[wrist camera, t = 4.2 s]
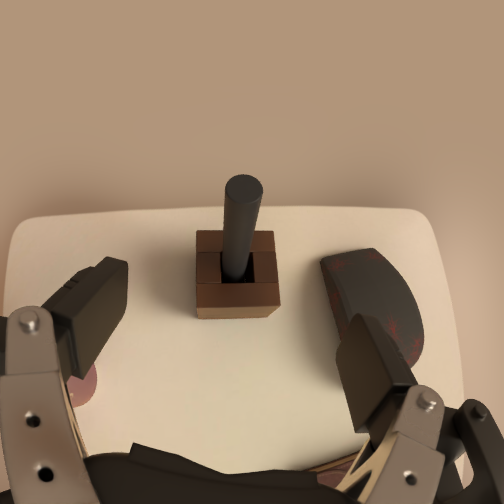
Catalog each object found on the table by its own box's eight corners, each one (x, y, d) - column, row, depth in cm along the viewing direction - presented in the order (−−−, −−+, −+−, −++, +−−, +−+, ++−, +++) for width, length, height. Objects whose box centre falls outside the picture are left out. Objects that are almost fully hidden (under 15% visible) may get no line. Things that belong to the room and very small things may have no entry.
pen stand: (198, 319, 25) (196, 308, 20) (197, 254, 27) (196, 230, 23) (267, 317, 26) (280, 305, 21) (262, 253, 28) (273, 230, 24)
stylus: (217, 283, 26) (217, 185, 14) (233, 272, 27) (246, 168, 15) (230, 299, 26) (241, 210, 13) (245, 287, 27) (271, 191, 14)
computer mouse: (348, 398, 24) (369, 401, 20) (310, 261, 29) (325, 245, 25) (412, 369, 26) (437, 366, 22) (376, 248, 30) (396, 232, 27)
